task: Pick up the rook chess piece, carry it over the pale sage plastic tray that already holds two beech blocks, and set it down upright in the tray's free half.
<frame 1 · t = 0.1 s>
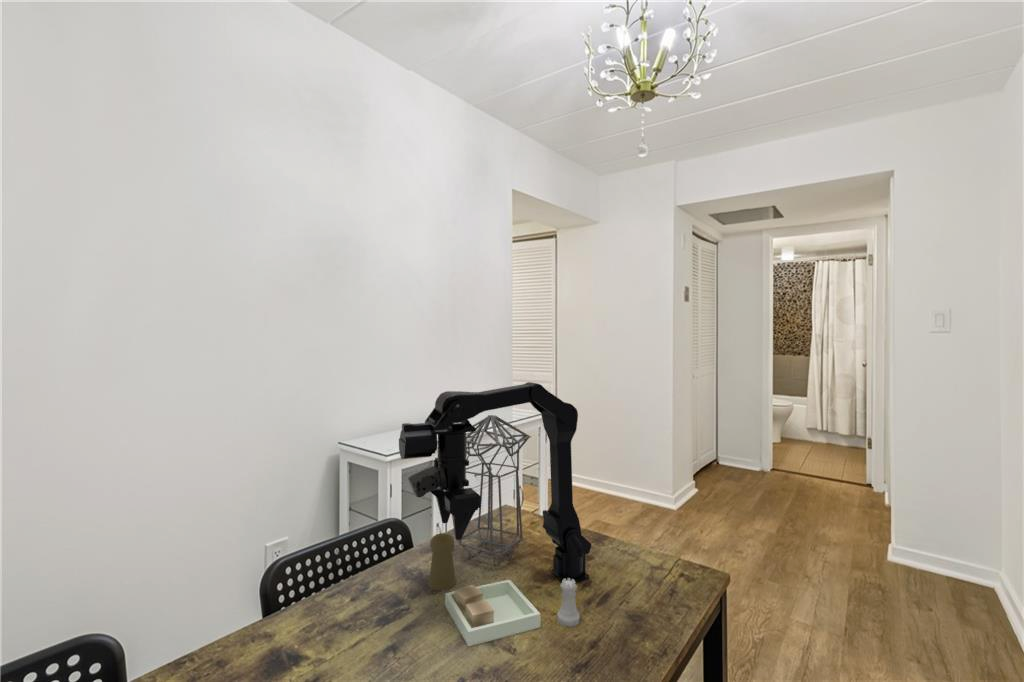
hand: (451, 530, 101), 15 cm above the table, fingers open, 9 cm apart
beech block B: (468, 612, 96), point 1 cm above the table, touching tray
beech block A: (479, 629, 91), point 1 cm above the table, touching tray
rook chess piece: (568, 624, 94), on the table
cork: (442, 586, 108), on the table
geometric lantern: (490, 557, 122), on the table
tray: (491, 619, 95), on the table
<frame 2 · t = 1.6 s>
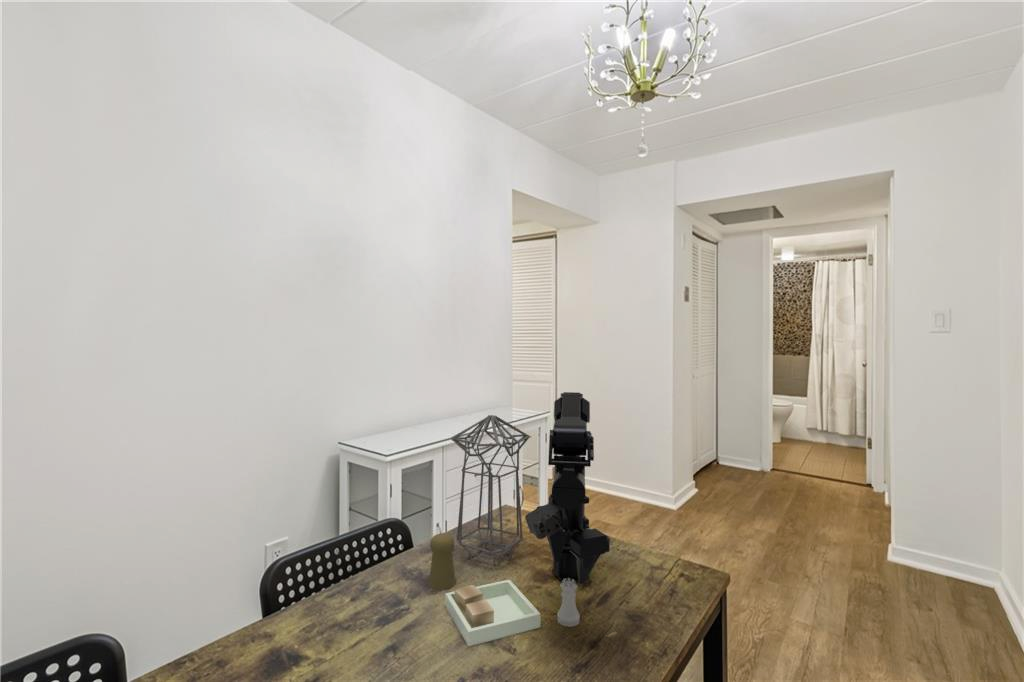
hand: (568, 572, 94), 10 cm above the table, fingers open, 9 cm apart
nothing on the table moved.
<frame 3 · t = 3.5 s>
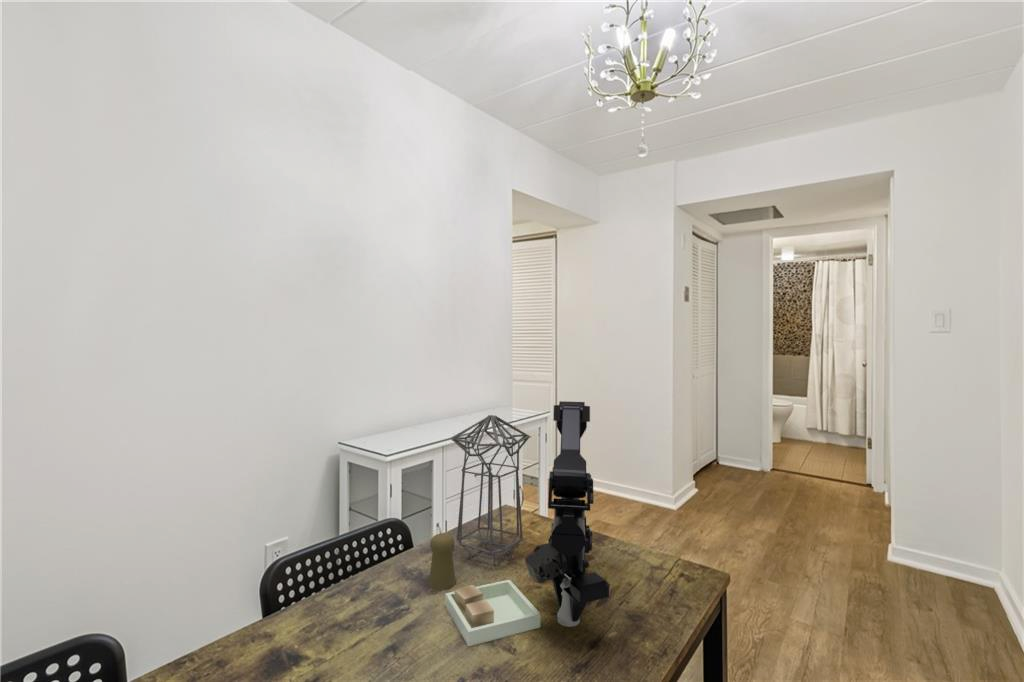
hand: (568, 614, 94), 2 cm above the table, fingers closed on rook chess piece, 4 cm apart
rook chess piece: (568, 624, 94), on the table, touching gripper
everything else where it was.
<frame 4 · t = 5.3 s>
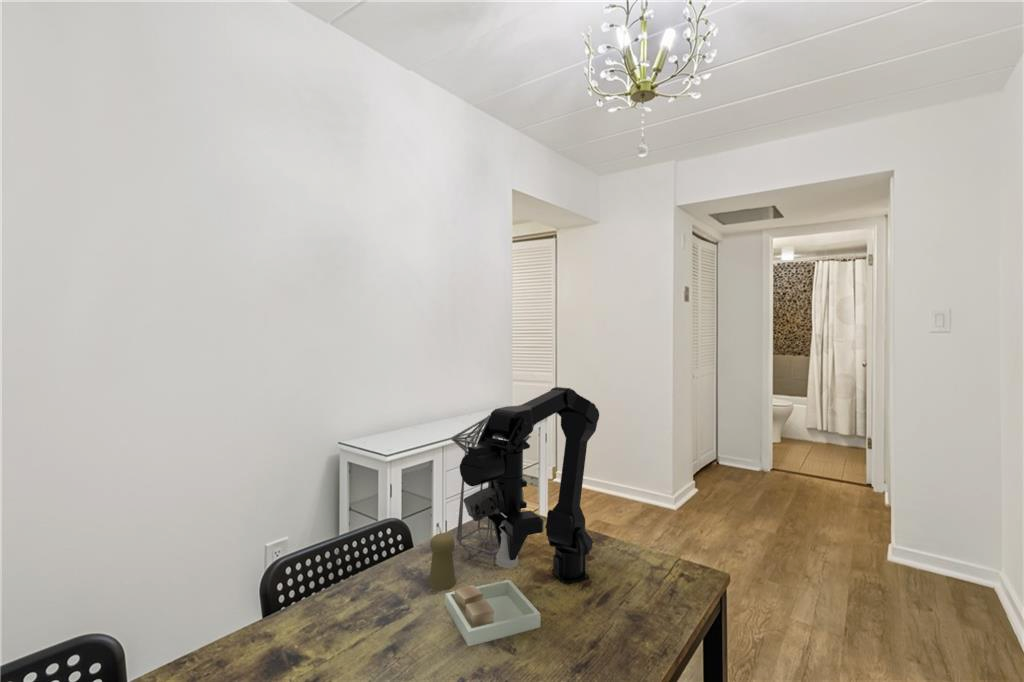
hand: (507, 554, 96), 12 cm above the table, fingers closed on rook chess piece, 4 cm apart
rook chess piece: (507, 564, 96), point 10 cm above the table, touching gripper
everything else where it was.
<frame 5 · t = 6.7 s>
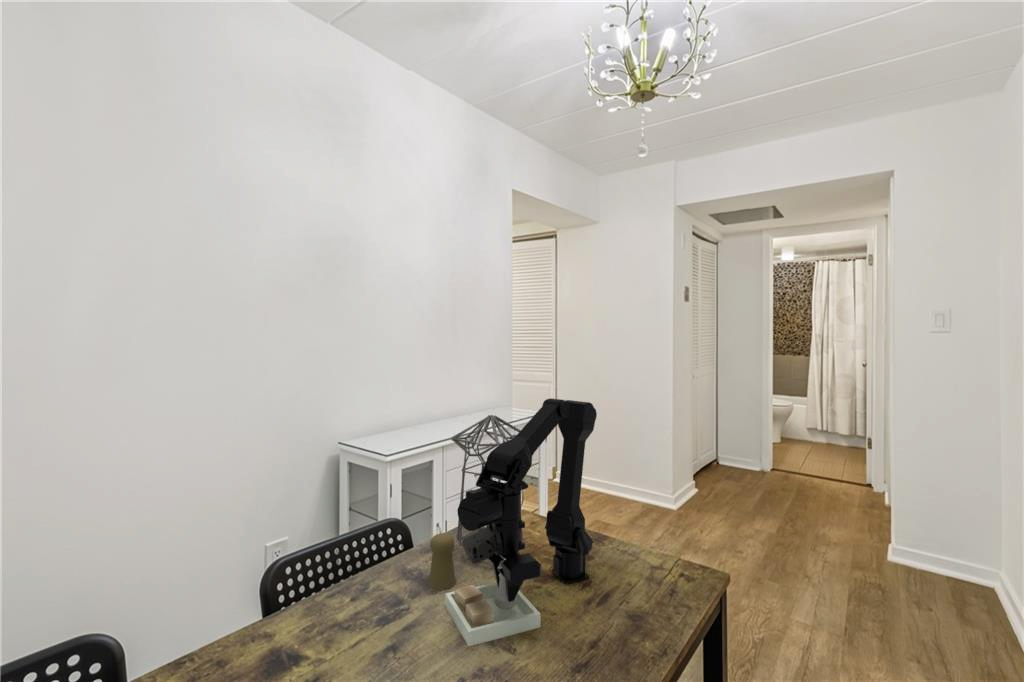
hand: (505, 595, 96), 4 cm above the table, fingers closed on rook chess piece, 4 cm apart
rook chess piece: (505, 604, 96), point 2 cm above the table, touching gripper
everything else where it was.
when the fingers open (3 cm above the table, at t = 7.6 s): rook chess piece drops 1 cm, resting on tray.
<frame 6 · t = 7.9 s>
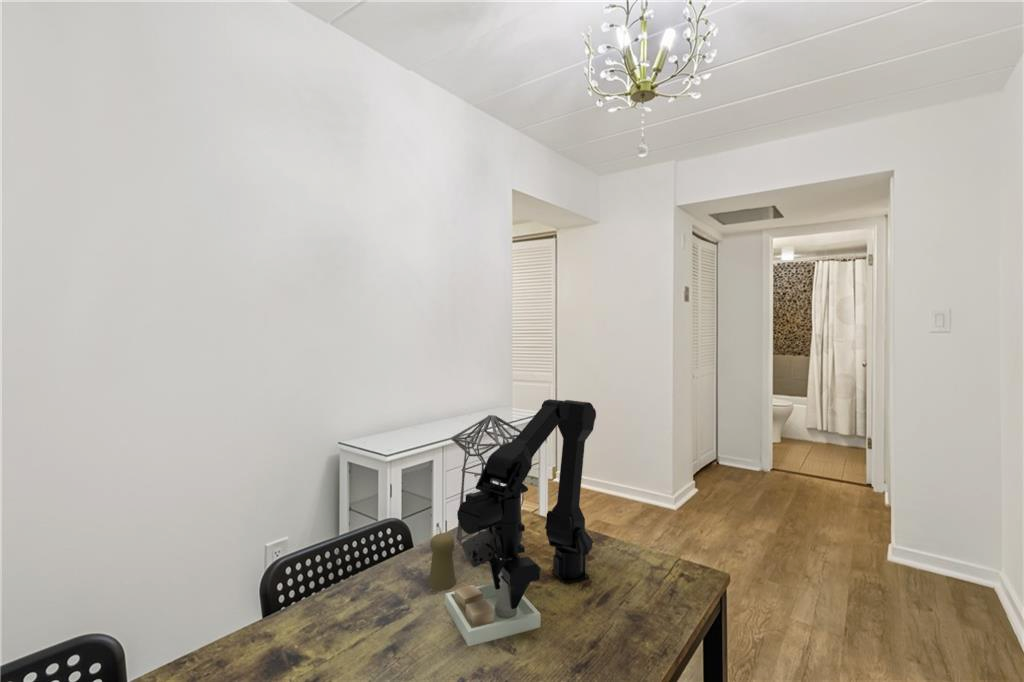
hand: (505, 598, 96), 3 cm above the table, fingers open, 7 cm apart
rook chess piece: (505, 613, 96), resting on tray
everything else where it was.
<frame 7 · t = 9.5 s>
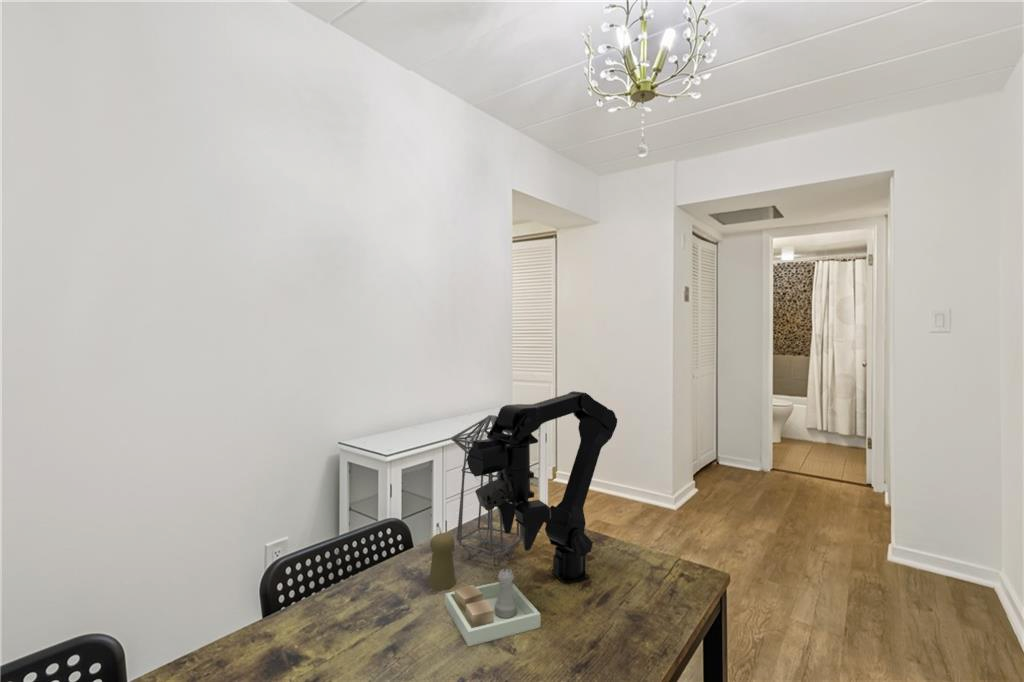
hand: (517, 541, 103), 12 cm above the table, fingers open, 9 cm apart
nothing on the table moved.
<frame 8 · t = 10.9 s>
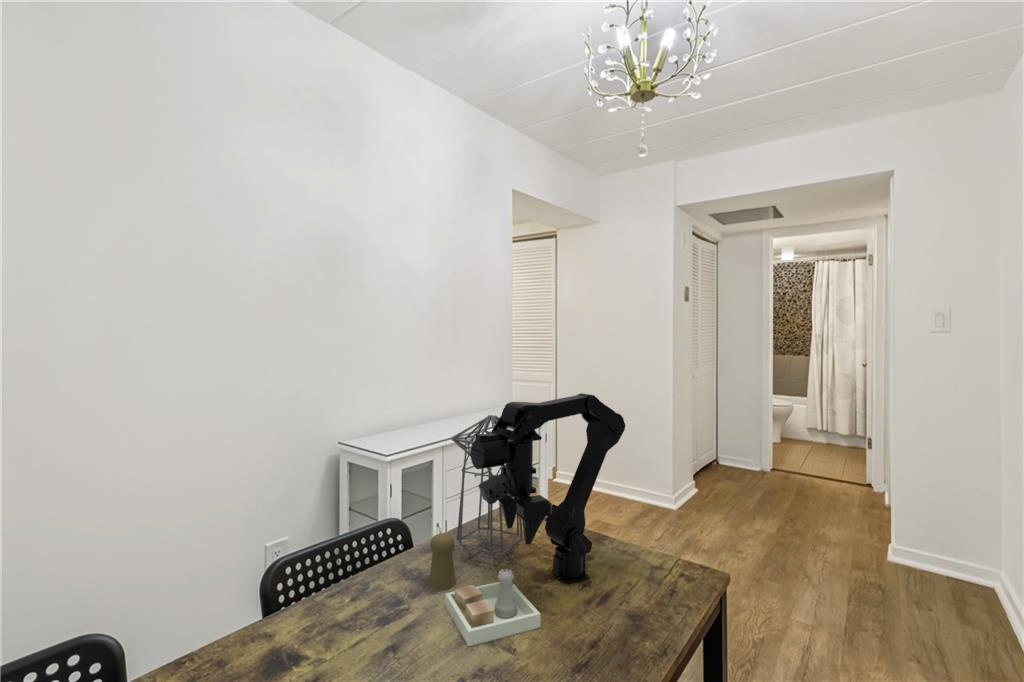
hand: (518, 535, 105), 12 cm above the table, fingers open, 9 cm apart
nothing on the table moved.
at the end: rook chess piece inside the target area on the tray (3.0 cm from its centre), point 0.4 cm above the tray's base; rook chess piece tilted 0°; the gripper is holding nothing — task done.
